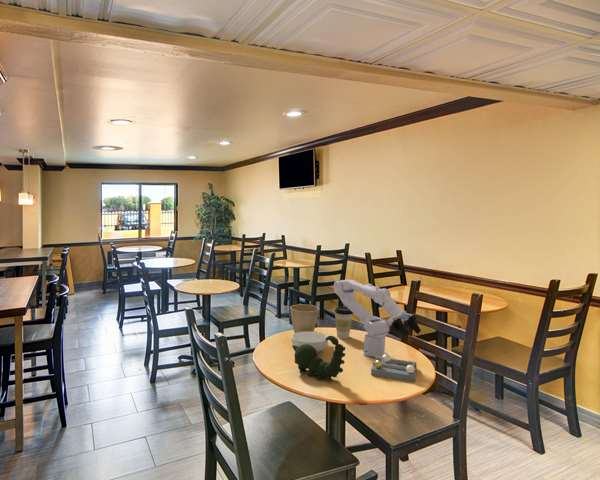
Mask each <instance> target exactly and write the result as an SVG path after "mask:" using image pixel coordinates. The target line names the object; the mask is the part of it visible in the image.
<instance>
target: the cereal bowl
mask: <svg viewBox="0 0 600 480" xmlns="http://www.w3.org/2000/svg"><path fill="white" fill-rule="evenodd" d="M328 336H329V335H326V334H325V333H322V332H318V331H314V332H310V331H307V332H298V333H295V332H294V333H293V334H292V335H291V344H292V345H295V346H301V345H303V344H309V345H311V346H313V347H314V348H315V349H316V351H317V353H319V352H321V351H323V350H325V349H326V347H327V346H328V343H329V342H328V341H329V340H325V339H326V337H328Z"/></svg>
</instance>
